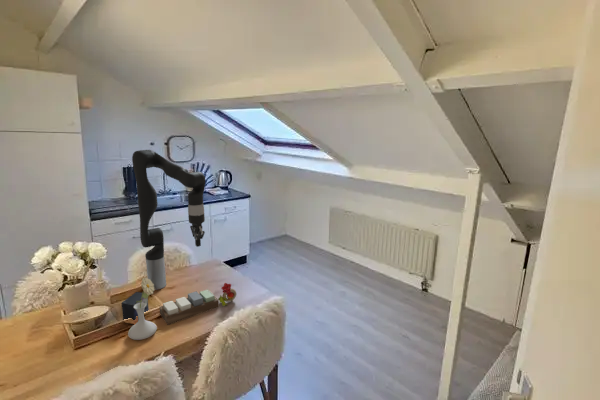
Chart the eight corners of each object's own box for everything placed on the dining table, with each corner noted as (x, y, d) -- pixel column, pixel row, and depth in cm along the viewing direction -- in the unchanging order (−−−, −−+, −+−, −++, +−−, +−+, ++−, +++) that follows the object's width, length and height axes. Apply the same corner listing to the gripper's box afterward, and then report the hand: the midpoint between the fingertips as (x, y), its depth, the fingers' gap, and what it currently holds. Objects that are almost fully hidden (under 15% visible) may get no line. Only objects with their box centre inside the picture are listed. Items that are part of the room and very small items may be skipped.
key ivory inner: (176, 307, 163) (175, 299, 162) (185, 304, 166) (184, 296, 165) (182, 315, 157) (181, 306, 156) (191, 312, 160) (190, 303, 159)
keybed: (160, 314, 160) (159, 306, 159) (209, 298, 175) (209, 291, 174) (167, 325, 152) (166, 317, 151) (218, 307, 167) (218, 299, 166)
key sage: (199, 299, 170) (199, 291, 169) (208, 297, 173) (207, 289, 172) (206, 306, 164) (206, 298, 163) (214, 303, 167) (214, 295, 166)
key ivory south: (163, 311, 159) (162, 303, 158) (172, 308, 162) (172, 300, 161) (169, 319, 153) (168, 310, 152) (178, 316, 156) (178, 307, 155)
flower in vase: (143, 345, 138) (137, 290, 132) (122, 338, 142) (115, 284, 136) (165, 327, 150) (161, 276, 144) (145, 322, 154) (140, 271, 148)
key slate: (188, 302, 166) (187, 293, 165) (196, 299, 169) (196, 291, 168) (194, 309, 160) (194, 300, 159) (203, 306, 163) (202, 297, 162)
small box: (135, 325, 151) (133, 304, 149) (122, 323, 152) (120, 302, 150) (150, 312, 161) (148, 293, 159) (138, 311, 162) (136, 291, 160)
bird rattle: (229, 302, 176) (213, 300, 170) (236, 282, 176) (221, 280, 170) (234, 307, 171) (218, 306, 165) (241, 287, 171) (226, 285, 165)
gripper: (183, 211, 167) (185, 243, 171) (194, 217, 157) (196, 251, 161) (198, 208, 172) (200, 240, 176) (209, 214, 162) (210, 248, 166)
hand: (198, 245), depth 168 cm, fingers closed
